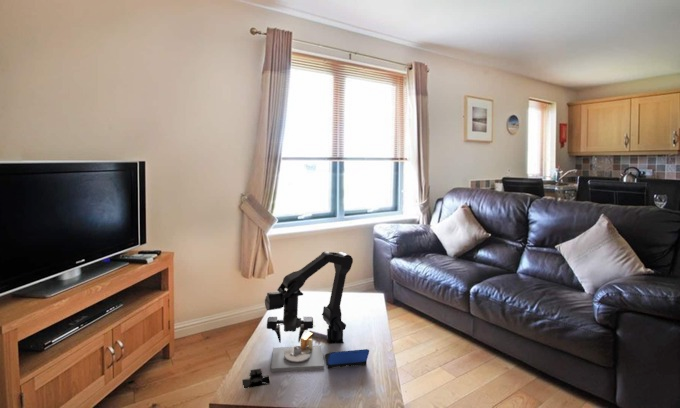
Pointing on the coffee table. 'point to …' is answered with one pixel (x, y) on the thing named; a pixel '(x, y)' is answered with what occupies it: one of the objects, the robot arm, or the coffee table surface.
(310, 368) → the base plate
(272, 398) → the coffee table surface
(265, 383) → the black angular piece
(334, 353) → the handheld game console
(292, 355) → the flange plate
